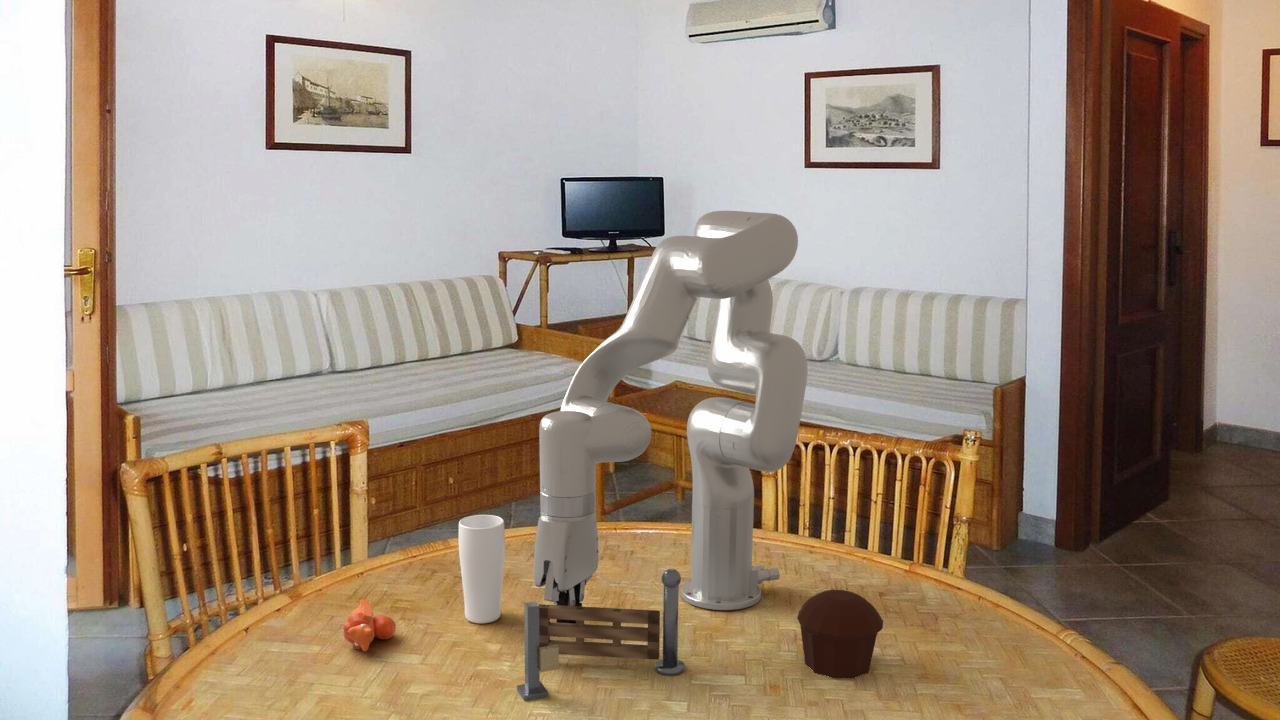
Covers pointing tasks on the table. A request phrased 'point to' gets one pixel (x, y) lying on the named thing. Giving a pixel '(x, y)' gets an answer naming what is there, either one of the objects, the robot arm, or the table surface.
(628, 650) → the gate
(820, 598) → the muffin
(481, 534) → the drinking glass
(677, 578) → the hinge post
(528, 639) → the post
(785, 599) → the table surface
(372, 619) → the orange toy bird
